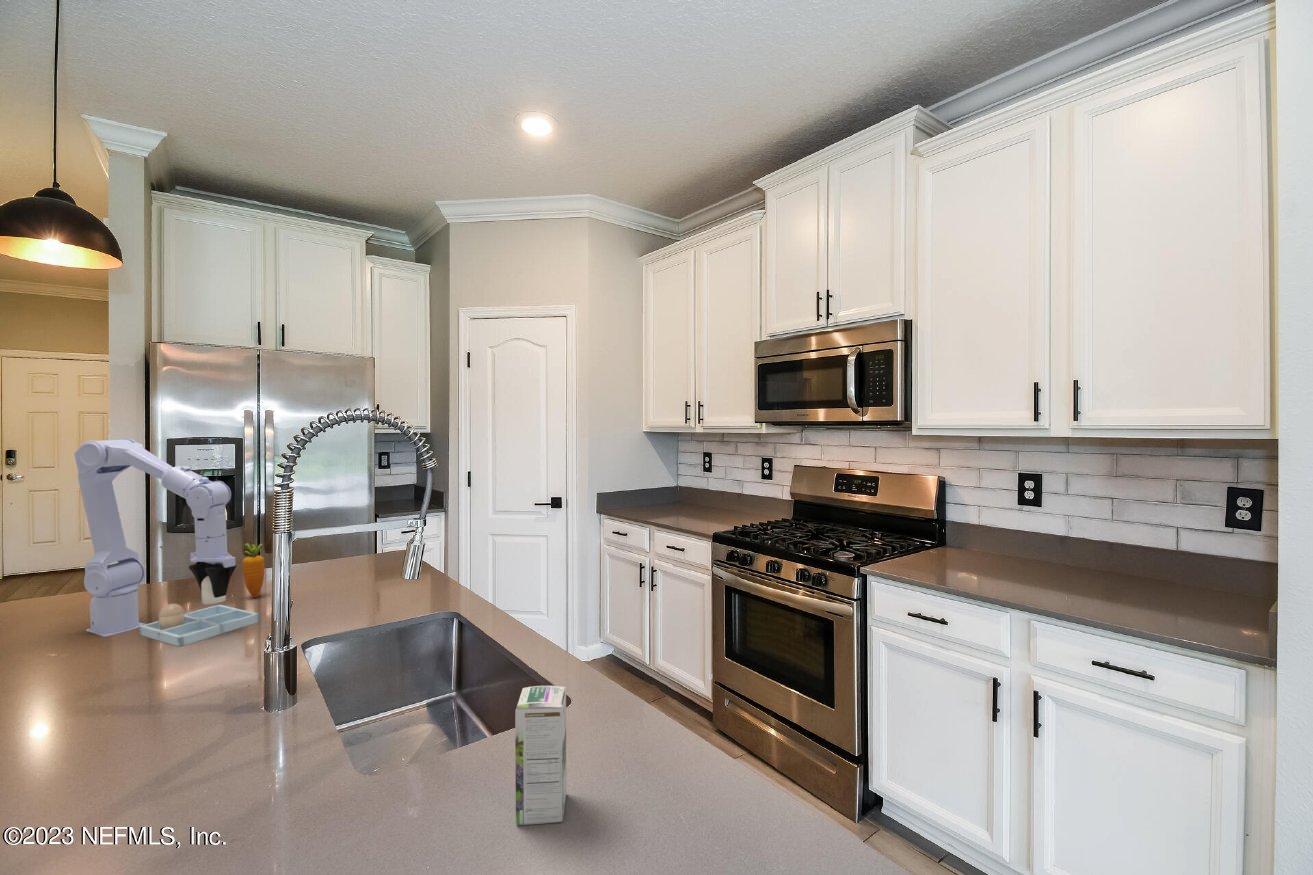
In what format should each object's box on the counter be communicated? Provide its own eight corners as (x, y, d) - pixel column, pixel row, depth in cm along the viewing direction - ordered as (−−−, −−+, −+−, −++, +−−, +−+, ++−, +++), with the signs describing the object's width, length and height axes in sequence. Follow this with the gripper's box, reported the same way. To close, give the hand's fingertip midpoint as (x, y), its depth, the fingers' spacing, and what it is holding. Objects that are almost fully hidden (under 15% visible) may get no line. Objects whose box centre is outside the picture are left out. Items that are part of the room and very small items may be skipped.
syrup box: (522, 796, 77) (519, 685, 77) (568, 793, 78) (566, 683, 77) (515, 826, 72) (512, 708, 71) (565, 823, 72) (563, 705, 72)
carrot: (270, 595, 164) (268, 540, 164) (256, 600, 159) (254, 544, 159) (253, 594, 165) (251, 540, 164) (239, 600, 160) (236, 544, 159)
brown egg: (155, 632, 135) (154, 605, 135) (178, 626, 139) (176, 599, 139) (166, 635, 133) (164, 608, 133) (188, 629, 137) (187, 602, 137)
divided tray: (139, 637, 134) (139, 626, 134) (219, 614, 149) (219, 604, 149) (179, 649, 127) (179, 637, 127) (259, 624, 142) (259, 613, 142)
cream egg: (197, 602, 136) (196, 575, 136) (219, 597, 140) (217, 570, 140) (208, 605, 134) (207, 577, 134) (230, 599, 138) (228, 572, 138)
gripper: (173, 536, 136) (176, 595, 137) (209, 542, 130) (212, 604, 130) (208, 530, 142) (210, 587, 143) (244, 535, 136) (246, 595, 136)
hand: (214, 594), depth 137 cm, fingers closed on cream egg, 4 cm apart
